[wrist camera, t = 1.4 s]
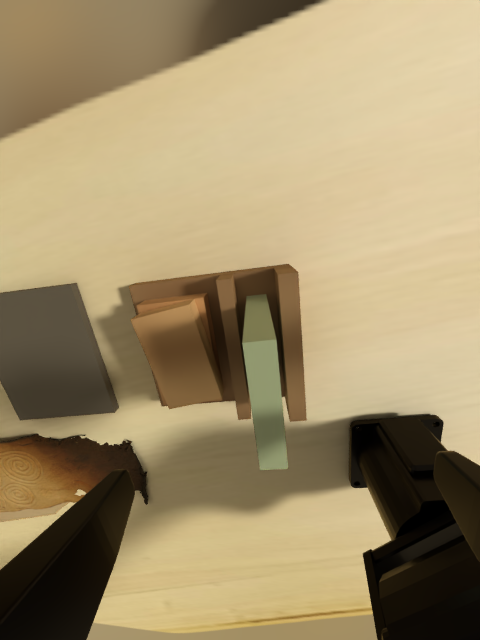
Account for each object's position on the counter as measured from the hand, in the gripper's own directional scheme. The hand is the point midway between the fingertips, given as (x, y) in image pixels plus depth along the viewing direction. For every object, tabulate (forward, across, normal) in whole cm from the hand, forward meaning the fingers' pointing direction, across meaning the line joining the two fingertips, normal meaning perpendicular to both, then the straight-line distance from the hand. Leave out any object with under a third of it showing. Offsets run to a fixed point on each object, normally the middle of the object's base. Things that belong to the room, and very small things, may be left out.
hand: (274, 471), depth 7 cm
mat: (+10, +16, 0) cm, 19 cm away
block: (+10, 0, 0) cm, 10 cm away
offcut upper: (+8, +5, 0) cm, 10 cm away
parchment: (+11, +24, +12) cm, 29 cm away
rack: (+10, +3, 0) cm, 11 cm away
